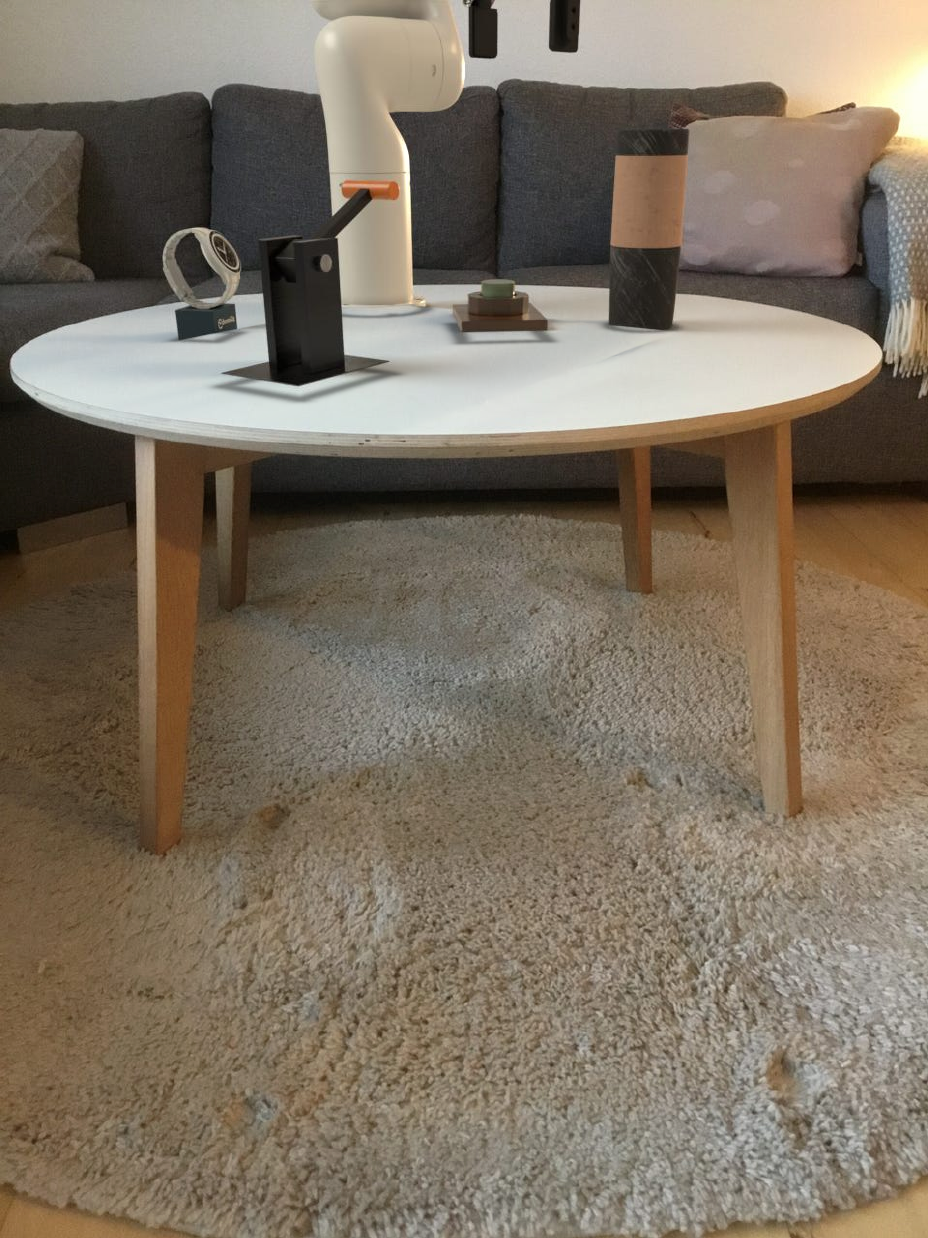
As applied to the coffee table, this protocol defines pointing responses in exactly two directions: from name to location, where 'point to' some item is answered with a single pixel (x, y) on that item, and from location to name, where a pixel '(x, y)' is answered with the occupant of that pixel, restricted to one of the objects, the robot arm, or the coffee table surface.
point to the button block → (498, 314)
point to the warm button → (498, 288)
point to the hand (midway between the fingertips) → (521, 54)
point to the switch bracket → (303, 316)
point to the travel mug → (647, 226)
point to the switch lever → (342, 216)
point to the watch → (198, 314)
